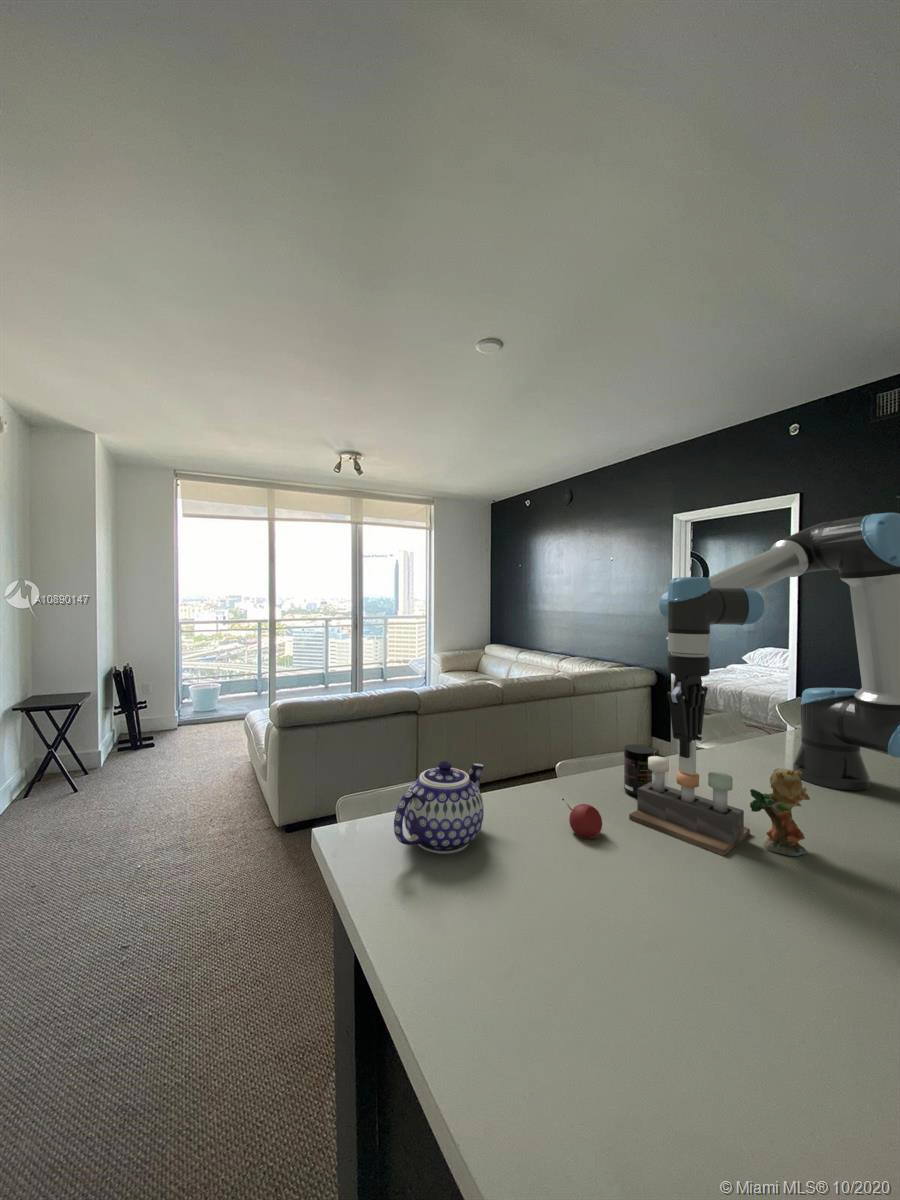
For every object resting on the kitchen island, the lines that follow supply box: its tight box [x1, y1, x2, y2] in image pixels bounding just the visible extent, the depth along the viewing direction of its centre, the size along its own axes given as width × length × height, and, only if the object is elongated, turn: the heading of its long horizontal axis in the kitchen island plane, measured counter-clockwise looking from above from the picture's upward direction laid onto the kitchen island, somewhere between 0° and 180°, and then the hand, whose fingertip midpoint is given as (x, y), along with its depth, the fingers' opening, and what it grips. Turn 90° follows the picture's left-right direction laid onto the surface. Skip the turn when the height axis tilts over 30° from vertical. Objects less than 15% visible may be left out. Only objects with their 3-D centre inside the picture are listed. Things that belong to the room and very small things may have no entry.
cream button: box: [648, 755, 670, 793], centre depth 99 cm, size 4×4×6 cm
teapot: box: [393, 760, 485, 855], centre depth 88 cm, size 25×15×15 cm, turn 138°
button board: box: [628, 782, 751, 857], centre depth 94 cm, size 12×18×6 cm
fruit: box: [561, 798, 603, 839], centre depth 92 cm, size 6×6×8 cm
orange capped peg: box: [676, 770, 700, 804], centre depth 94 cm, size 4×4×6 cm
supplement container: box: [623, 744, 656, 798], centre depth 110 cm, size 7×7×10 cm
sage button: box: [707, 771, 733, 813], centre depth 89 cm, size 4×4×6 cm
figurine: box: [749, 767, 811, 857], centre depth 86 cm, size 9×8×15 cm
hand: (687, 772), depth 94 cm, fingers closed
